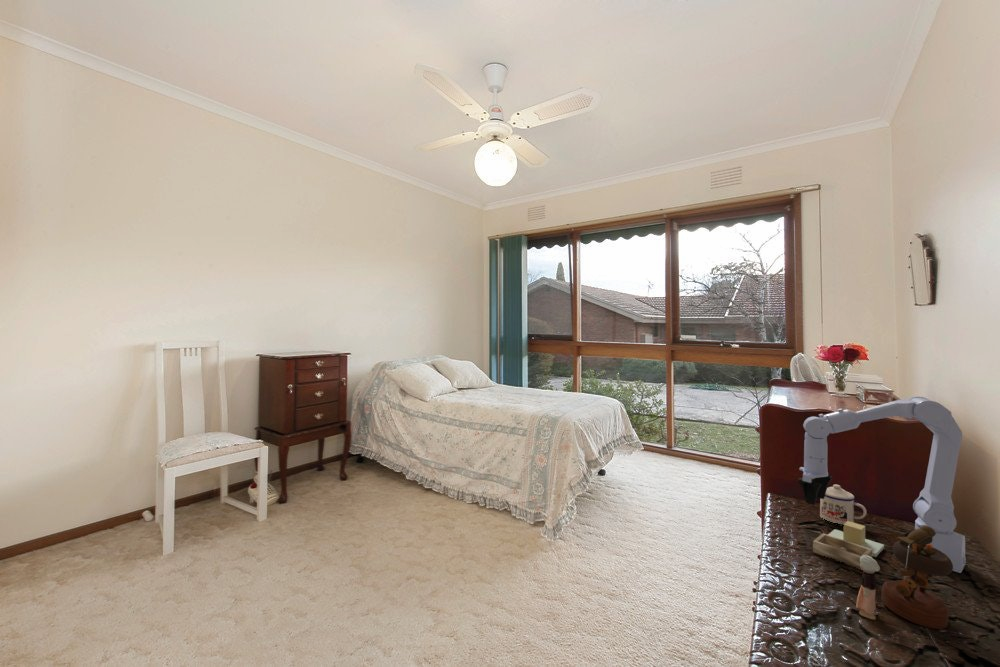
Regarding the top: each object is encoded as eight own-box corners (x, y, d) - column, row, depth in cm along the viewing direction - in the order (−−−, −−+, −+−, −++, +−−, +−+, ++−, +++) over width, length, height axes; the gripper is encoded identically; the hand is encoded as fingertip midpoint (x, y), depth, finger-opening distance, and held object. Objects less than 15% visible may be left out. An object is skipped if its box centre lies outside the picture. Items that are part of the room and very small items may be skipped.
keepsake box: (872, 561, 112) (872, 549, 112) (863, 570, 107) (863, 558, 107) (822, 544, 121) (822, 533, 121) (812, 552, 116) (812, 541, 116)
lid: (884, 549, 118) (884, 529, 118) (875, 559, 114) (876, 537, 114) (834, 533, 128) (835, 514, 128) (825, 541, 123) (825, 521, 123)
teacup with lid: (815, 519, 137) (816, 484, 137) (823, 511, 143) (823, 478, 143) (863, 533, 128) (863, 495, 128) (869, 524, 134) (869, 488, 134)
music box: (941, 641, 83) (943, 541, 83) (871, 609, 92) (872, 520, 92) (961, 614, 91) (962, 523, 91) (894, 587, 100) (895, 505, 100)
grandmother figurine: (855, 601, 95) (856, 546, 95) (878, 609, 92) (878, 552, 92) (856, 619, 89) (857, 560, 89) (880, 627, 86) (881, 567, 86)
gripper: (808, 449, 134) (808, 491, 134) (791, 457, 126) (790, 501, 126) (835, 455, 128) (835, 498, 128) (819, 463, 120) (818, 509, 120)
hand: (815, 500), depth 127 cm, fingers open, 7 cm apart
